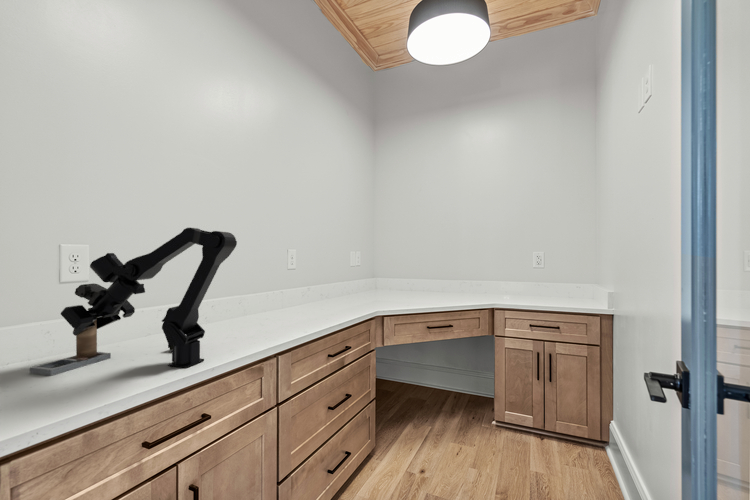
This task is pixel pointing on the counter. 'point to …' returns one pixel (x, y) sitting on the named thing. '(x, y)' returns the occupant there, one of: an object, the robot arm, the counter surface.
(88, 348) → the post
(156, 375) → the counter surface
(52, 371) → the grey divided tray
